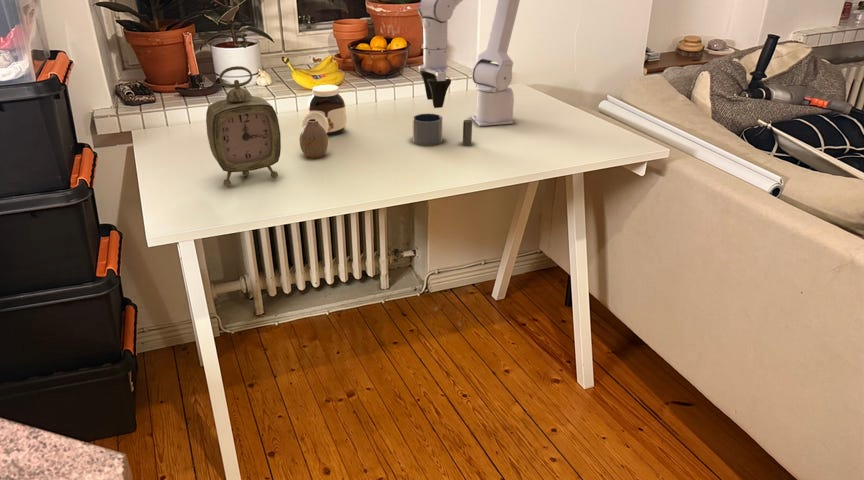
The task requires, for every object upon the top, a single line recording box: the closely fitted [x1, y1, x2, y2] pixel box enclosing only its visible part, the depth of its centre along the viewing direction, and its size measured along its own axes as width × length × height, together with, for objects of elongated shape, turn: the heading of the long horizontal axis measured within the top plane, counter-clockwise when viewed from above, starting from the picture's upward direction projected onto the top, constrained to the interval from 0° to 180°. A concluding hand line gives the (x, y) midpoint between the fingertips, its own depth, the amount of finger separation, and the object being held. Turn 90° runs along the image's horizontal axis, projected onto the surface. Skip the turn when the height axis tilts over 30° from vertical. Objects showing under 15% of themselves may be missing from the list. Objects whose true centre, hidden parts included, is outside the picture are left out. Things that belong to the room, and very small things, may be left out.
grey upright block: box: [462, 119, 473, 147], centre depth 173 cm, size 2×2×6 cm
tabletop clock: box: [205, 65, 282, 188], centre depth 152 cm, size 14×9×25 cm, turn 114°
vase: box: [298, 119, 329, 159], centre depth 168 cm, size 7×7×9 cm
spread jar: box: [301, 84, 347, 137], centre depth 182 cm, size 12×11×12 cm
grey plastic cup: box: [412, 113, 444, 147], centre depth 176 cm, size 7×7×6 cm
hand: (434, 103), depth 175 cm, fingers open, 7 cm apart
